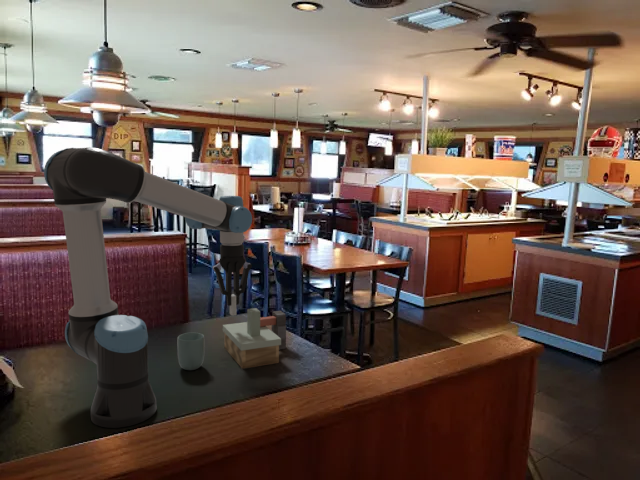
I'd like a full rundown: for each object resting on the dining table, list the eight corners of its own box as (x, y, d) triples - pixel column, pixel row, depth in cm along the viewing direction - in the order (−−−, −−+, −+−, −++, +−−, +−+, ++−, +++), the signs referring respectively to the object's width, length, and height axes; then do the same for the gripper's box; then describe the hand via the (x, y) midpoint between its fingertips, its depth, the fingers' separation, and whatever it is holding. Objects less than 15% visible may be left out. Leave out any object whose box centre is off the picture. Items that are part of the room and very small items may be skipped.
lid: (281, 349, 154) (281, 314, 153) (241, 355, 148) (241, 318, 147) (258, 330, 173) (258, 298, 171) (222, 334, 167) (222, 302, 165)
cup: (172, 369, 148) (171, 337, 147) (190, 361, 155) (190, 330, 154) (192, 374, 144) (191, 342, 143) (209, 366, 151) (209, 335, 150)
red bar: (285, 323, 169) (285, 316, 168) (252, 327, 163) (252, 320, 163) (282, 321, 171) (282, 314, 170) (249, 325, 165) (249, 318, 165)
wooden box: (298, 359, 158) (299, 323, 157) (242, 368, 150) (242, 330, 148) (276, 340, 176) (276, 308, 174) (224, 347, 167) (224, 313, 166)
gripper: (247, 241, 164) (248, 309, 167) (209, 243, 158) (210, 313, 161) (255, 244, 157) (255, 315, 161) (215, 246, 151) (216, 320, 155)
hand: (233, 314), depth 161 cm, fingers closed
